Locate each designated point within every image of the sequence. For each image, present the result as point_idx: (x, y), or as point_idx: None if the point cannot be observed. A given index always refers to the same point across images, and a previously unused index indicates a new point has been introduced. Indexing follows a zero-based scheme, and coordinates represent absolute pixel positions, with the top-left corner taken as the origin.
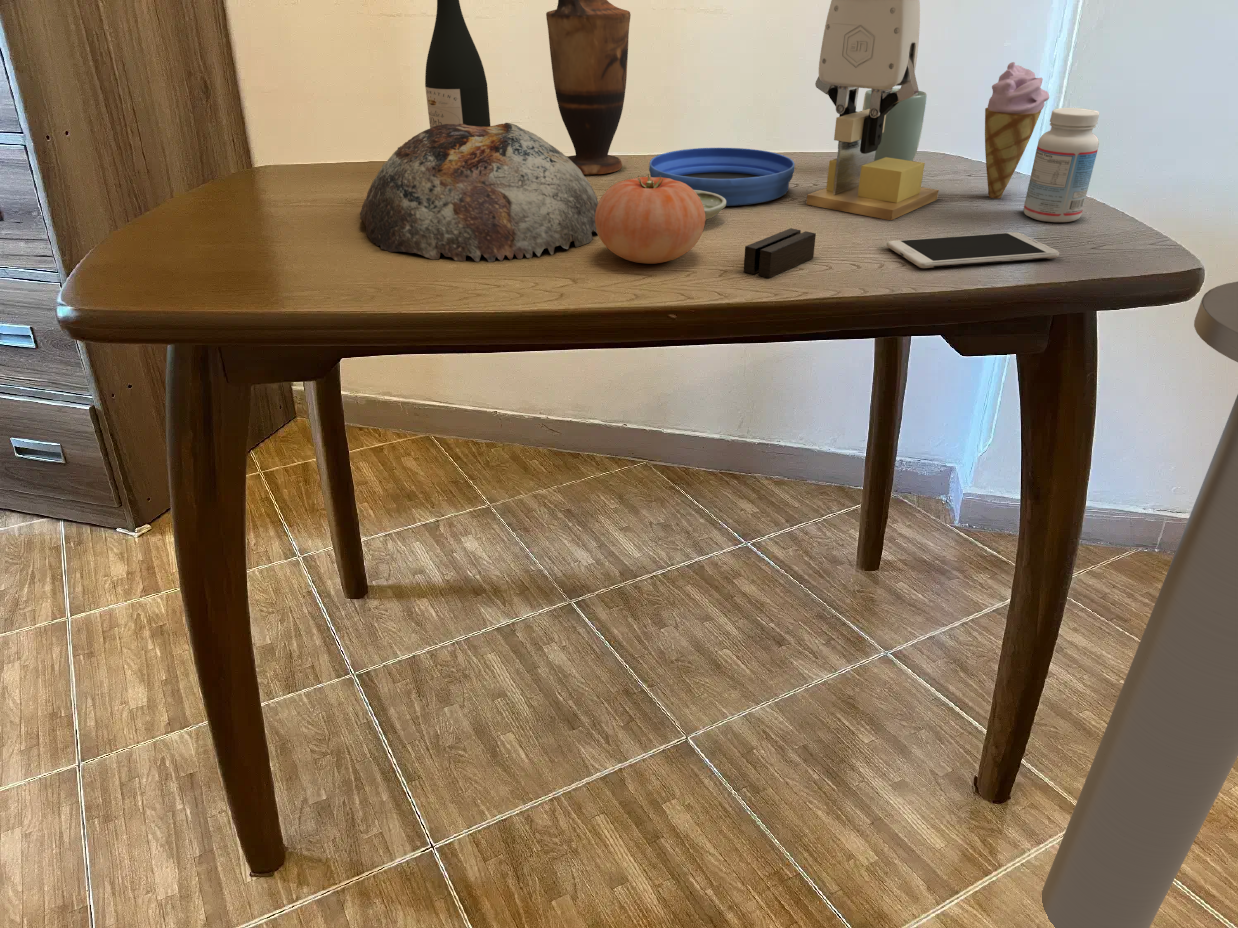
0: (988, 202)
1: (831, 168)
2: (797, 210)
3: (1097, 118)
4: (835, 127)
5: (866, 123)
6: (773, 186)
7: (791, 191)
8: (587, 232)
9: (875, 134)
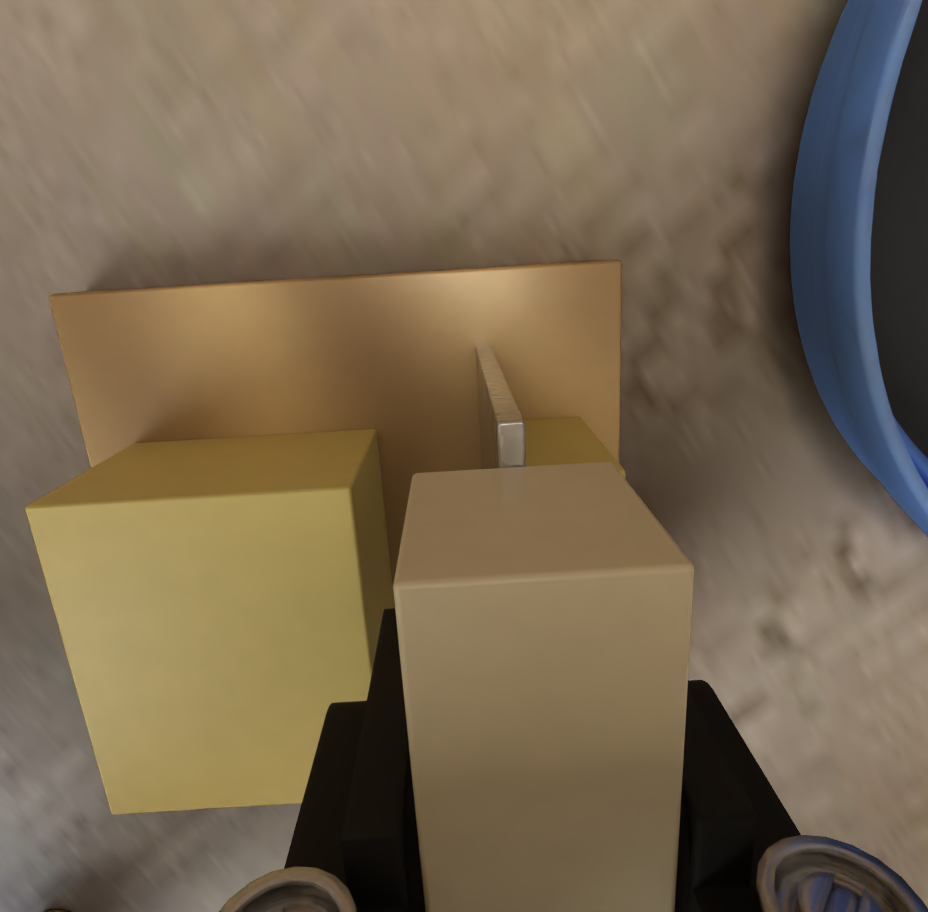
0: (26, 854)
1: (588, 455)
2: (582, 114)
3: None
4: (647, 509)
5: (378, 784)
6: (833, 97)
7: (817, 455)
8: None
9: (317, 761)
